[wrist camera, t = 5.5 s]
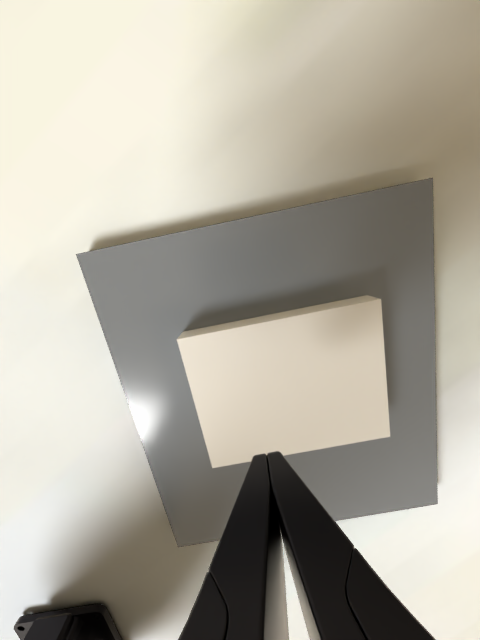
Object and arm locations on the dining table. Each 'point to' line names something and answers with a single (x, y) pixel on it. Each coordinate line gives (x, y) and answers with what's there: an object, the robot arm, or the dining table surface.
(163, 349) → the slate board
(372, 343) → the tile
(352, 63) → the dining table surface
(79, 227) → the dining table surface
